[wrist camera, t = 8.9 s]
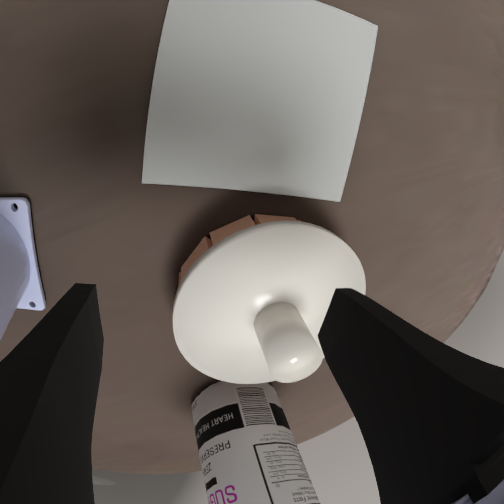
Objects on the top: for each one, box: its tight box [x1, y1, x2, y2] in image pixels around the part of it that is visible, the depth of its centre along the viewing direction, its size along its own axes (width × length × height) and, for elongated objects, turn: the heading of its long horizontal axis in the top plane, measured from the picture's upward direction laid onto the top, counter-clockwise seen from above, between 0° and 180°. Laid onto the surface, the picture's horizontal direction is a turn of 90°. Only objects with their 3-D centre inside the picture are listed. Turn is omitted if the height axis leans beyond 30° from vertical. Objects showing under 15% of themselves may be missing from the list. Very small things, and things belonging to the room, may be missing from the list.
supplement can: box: [192, 381, 320, 504], centre depth 21 cm, size 8×8×15 cm
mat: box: [142, 0, 378, 202], centre depth 15 cm, size 12×12×1 cm
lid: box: [172, 221, 366, 384], centre depth 17 cm, size 12×12×4 cm
